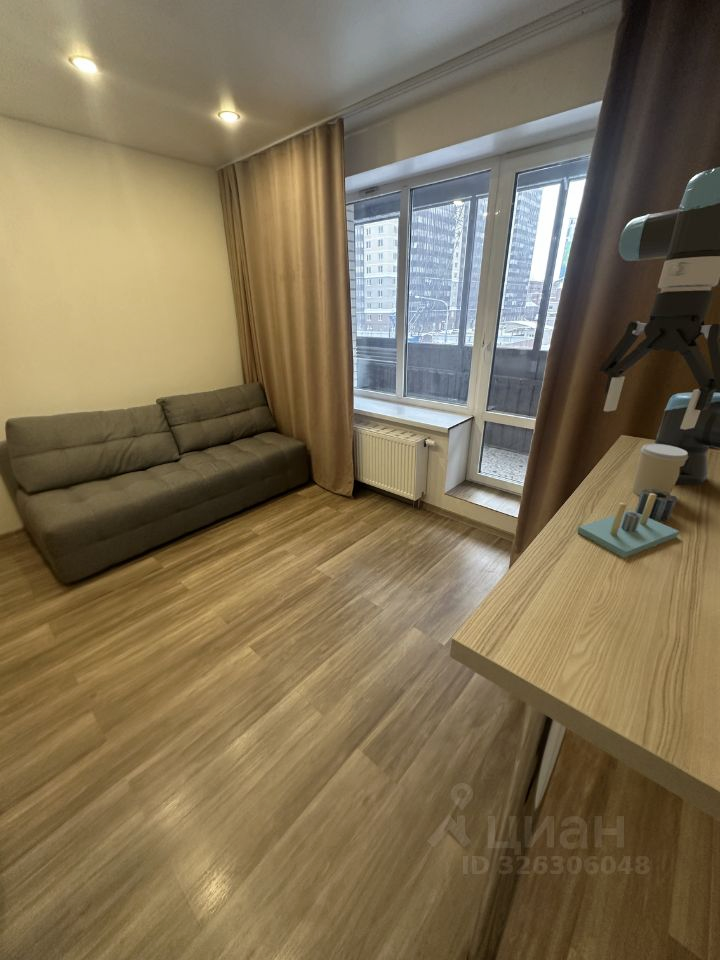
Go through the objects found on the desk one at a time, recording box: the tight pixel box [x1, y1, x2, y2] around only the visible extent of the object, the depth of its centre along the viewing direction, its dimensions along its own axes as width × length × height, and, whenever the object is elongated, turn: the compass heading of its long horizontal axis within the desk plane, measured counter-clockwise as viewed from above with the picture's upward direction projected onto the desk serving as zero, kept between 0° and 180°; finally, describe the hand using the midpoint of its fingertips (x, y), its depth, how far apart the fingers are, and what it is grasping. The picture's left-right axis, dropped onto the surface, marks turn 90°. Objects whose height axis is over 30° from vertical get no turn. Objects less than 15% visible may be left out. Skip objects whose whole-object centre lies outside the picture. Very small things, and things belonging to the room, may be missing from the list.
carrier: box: [577, 493, 680, 559], centre depth 77 cm, size 17×10×8 cm, turn 114°
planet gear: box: [635, 489, 678, 522], centre depth 86 cm, size 6×6×5 cm
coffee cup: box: [631, 443, 688, 497], centre depth 94 cm, size 9×9×12 cm
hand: (645, 418), depth 69 cm, fingers open, 13 cm apart
